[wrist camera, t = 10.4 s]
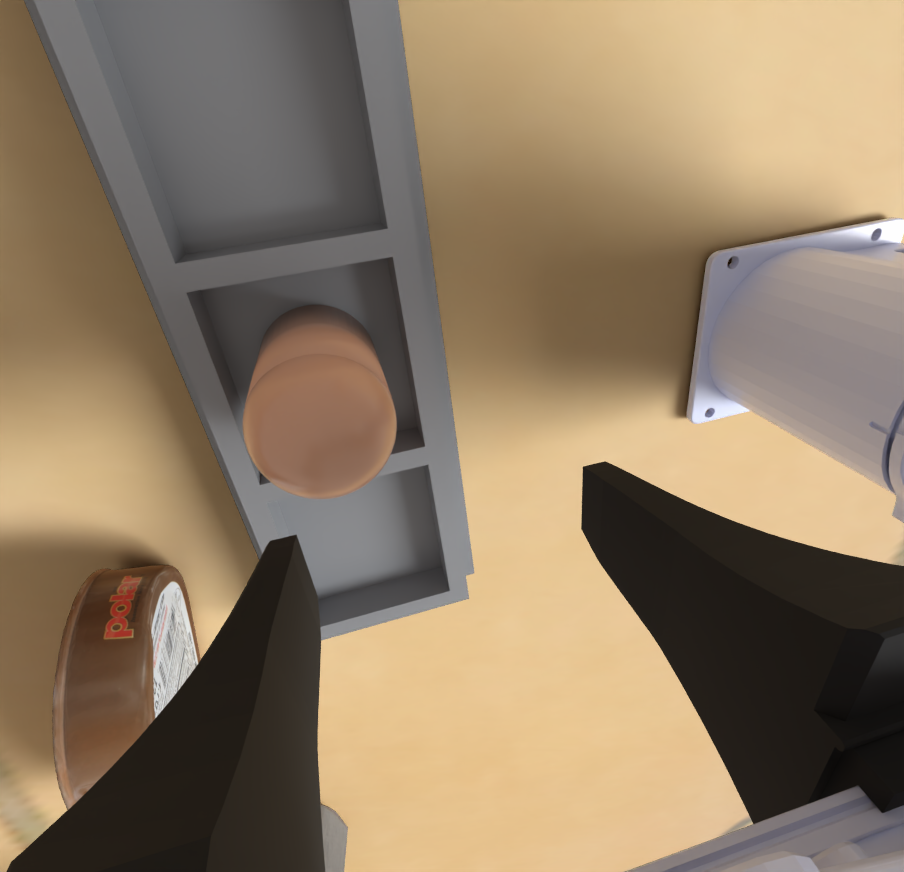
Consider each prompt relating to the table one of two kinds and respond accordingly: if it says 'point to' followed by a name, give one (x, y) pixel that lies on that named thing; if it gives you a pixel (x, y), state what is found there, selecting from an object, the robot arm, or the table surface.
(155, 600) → the tin
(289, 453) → the tan rounded cylinder
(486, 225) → the table surface
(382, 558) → the grey compartment tray
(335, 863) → the coffeepot
